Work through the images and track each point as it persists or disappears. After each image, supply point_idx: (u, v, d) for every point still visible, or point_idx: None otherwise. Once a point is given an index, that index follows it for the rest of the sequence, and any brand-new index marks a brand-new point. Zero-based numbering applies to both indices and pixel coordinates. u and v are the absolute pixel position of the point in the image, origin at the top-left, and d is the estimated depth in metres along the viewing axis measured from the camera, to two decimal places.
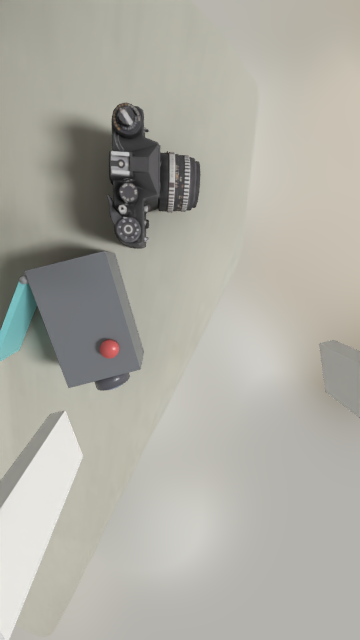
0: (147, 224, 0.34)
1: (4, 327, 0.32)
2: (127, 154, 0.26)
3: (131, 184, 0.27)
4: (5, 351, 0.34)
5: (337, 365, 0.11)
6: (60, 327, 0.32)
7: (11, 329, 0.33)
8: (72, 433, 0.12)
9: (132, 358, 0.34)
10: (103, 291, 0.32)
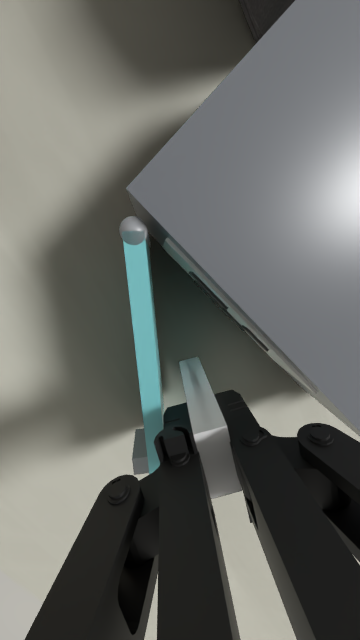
0: None
1: (148, 399, 0.11)
2: None
3: None
4: None
5: None
6: (306, 308, 0.10)
7: (160, 393, 0.12)
8: None
9: None
10: None
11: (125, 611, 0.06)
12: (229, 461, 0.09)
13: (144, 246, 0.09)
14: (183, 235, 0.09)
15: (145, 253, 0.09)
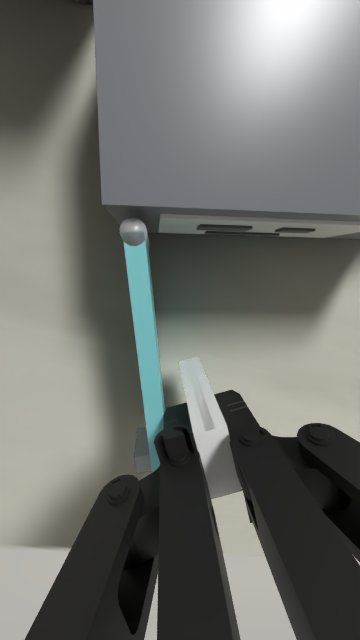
0: None
1: (149, 397, 0.11)
2: None
3: None
4: None
5: None
6: (322, 159, 0.09)
7: (161, 392, 0.12)
8: None
9: None
10: None
11: (125, 611, 0.06)
12: (229, 461, 0.09)
13: (144, 247, 0.09)
14: (172, 197, 0.09)
15: (145, 254, 0.09)
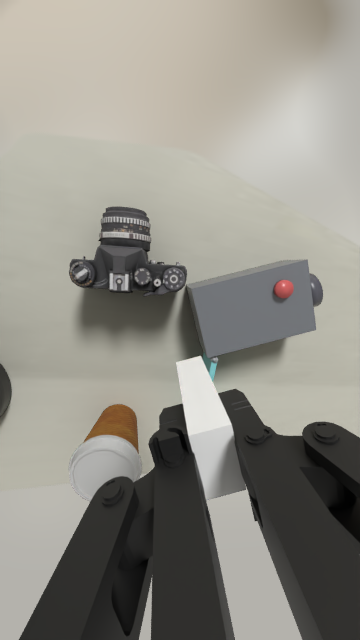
0: (161, 263, 0.36)
1: None
2: (111, 275, 0.30)
3: (135, 273, 0.30)
4: None
5: None
6: (258, 332, 0.35)
7: None
8: None
9: (294, 267, 0.34)
10: (227, 292, 0.34)
11: (119, 613, 0.06)
12: (234, 460, 0.09)
13: (216, 364, 0.36)
14: (223, 351, 0.35)
15: (216, 365, 0.36)
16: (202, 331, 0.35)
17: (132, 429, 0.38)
